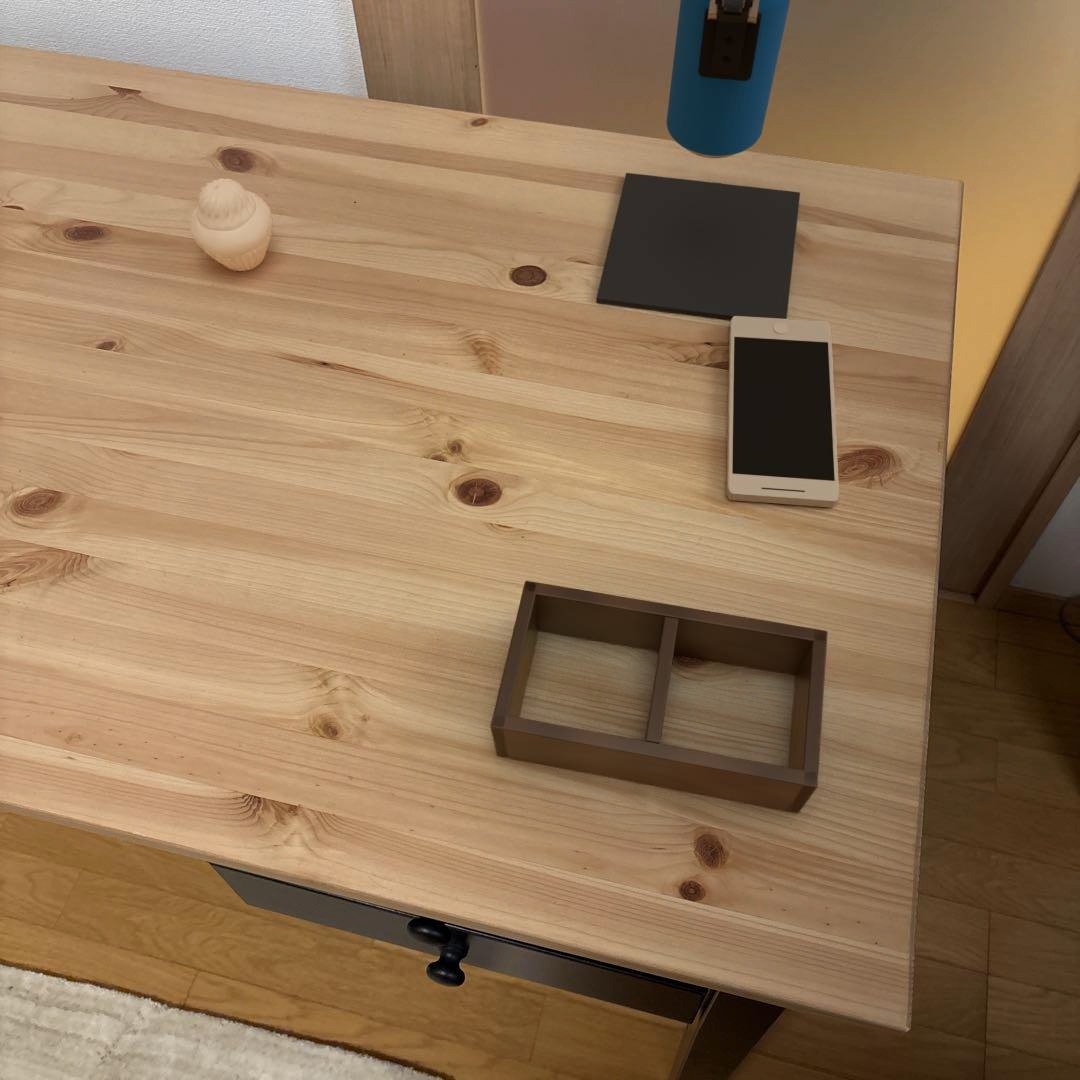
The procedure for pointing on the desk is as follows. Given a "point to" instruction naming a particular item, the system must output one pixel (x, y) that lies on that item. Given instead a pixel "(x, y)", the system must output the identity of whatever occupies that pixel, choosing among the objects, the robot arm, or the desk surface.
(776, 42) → the beverage can
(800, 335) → the smartphone
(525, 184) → the desk surface
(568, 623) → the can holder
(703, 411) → the desk surface
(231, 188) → the muffin
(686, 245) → the mat
